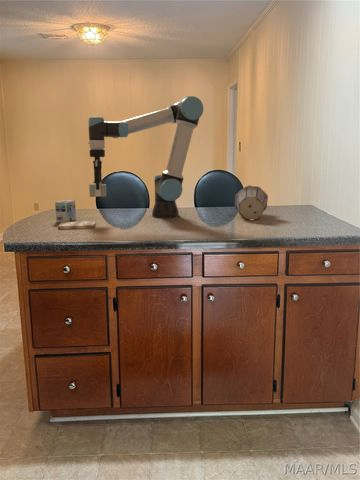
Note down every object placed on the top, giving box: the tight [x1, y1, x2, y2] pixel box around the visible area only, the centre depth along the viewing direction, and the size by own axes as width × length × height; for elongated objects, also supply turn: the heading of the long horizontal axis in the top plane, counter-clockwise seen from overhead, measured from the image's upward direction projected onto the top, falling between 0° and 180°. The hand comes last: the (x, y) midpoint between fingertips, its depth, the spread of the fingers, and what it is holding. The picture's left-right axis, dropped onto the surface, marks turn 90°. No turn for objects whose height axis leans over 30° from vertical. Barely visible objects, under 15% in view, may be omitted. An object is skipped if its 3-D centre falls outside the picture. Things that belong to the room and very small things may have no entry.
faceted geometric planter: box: [234, 185, 269, 220], centre depth 229 cm, size 18×18×30 cm
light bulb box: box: [54, 199, 77, 223], centre depth 220 cm, size 11×7×11 cm, turn 168°
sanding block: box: [88, 183, 107, 198], centre depth 211 cm, size 8×5×6 cm, turn 95°
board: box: [57, 220, 97, 230], centre depth 205 cm, size 17×11×2 cm, turn 97°
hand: (98, 195), depth 212 cm, fingers closed on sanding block, 5 cm apart
